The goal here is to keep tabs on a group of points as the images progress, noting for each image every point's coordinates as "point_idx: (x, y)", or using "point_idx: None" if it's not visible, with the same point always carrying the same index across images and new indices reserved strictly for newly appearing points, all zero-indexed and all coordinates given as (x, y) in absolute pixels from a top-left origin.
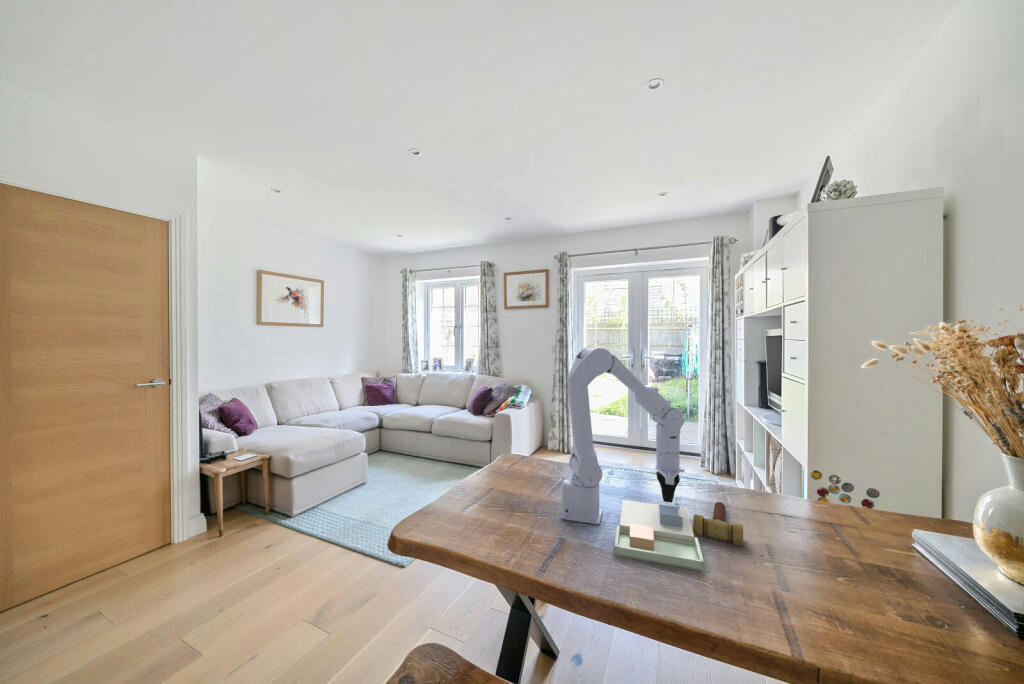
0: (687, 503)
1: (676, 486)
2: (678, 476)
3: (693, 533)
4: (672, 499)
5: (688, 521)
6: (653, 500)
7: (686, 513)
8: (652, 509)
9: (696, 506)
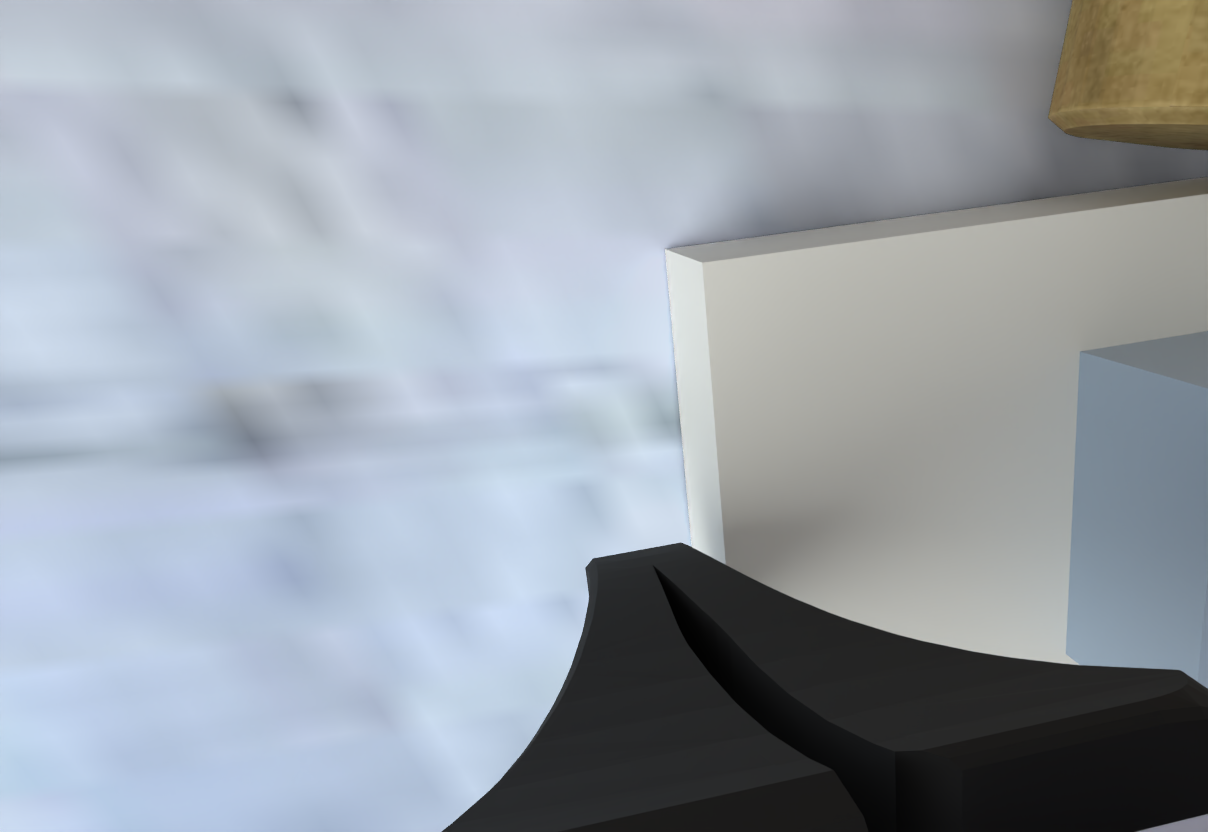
0: (91, 250)
1: (979, 652)
2: (851, 815)
3: (1204, 148)
4: (708, 560)
5: (1188, 225)
6: (302, 780)
7: (918, 264)
8: None
9: (143, 75)
